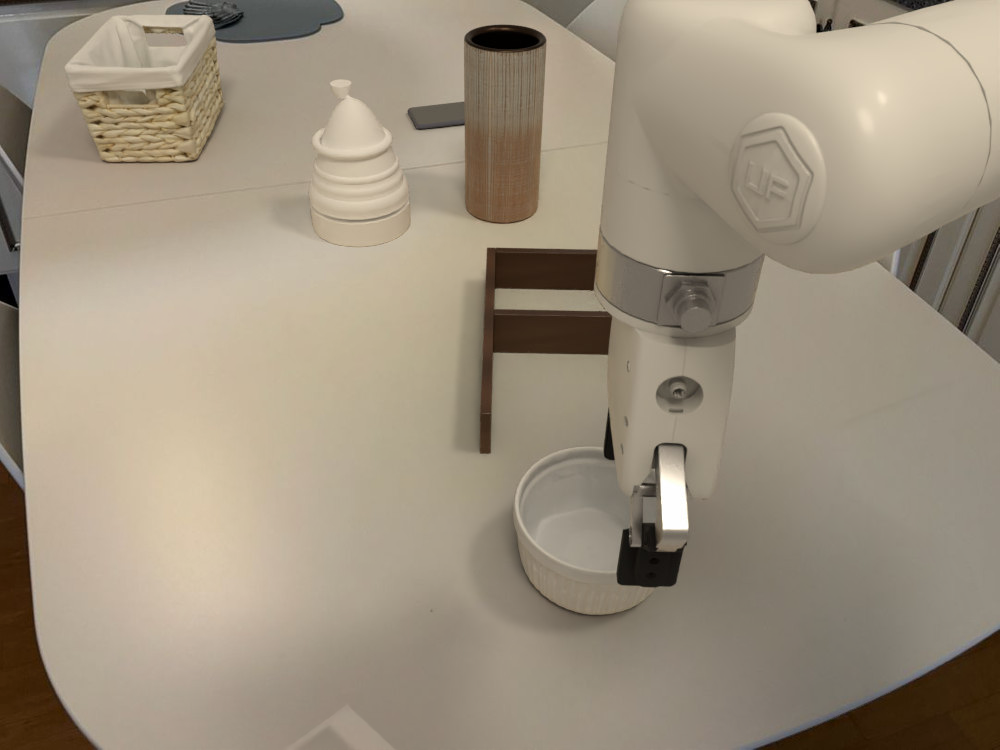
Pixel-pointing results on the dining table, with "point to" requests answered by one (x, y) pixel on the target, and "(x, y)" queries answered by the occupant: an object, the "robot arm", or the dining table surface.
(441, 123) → the smartphone
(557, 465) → the ramekin
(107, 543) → the dining table surface
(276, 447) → the dining table surface
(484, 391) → the frame
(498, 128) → the planter
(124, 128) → the basket
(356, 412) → the dining table surface
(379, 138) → the honey pot
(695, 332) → the robot arm
